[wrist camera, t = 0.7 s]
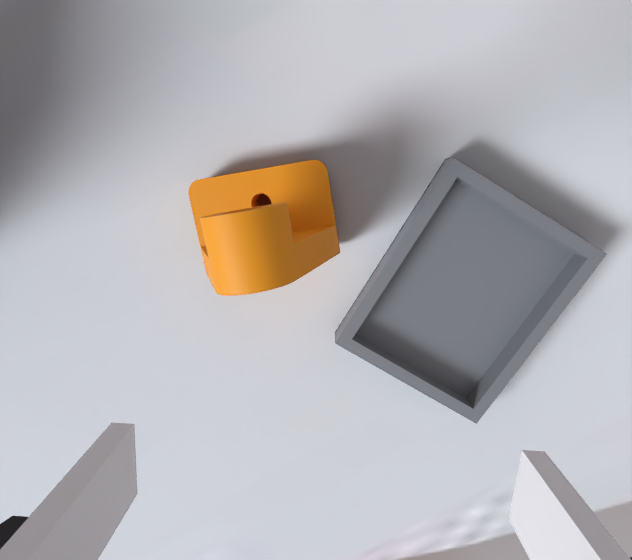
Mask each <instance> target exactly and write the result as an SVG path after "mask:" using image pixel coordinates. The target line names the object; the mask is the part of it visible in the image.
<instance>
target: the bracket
mask: <svg viewBox="0 0 632 560" xmlns="http://www.w3.org/2000/svg"><path fill="white" fill-rule="evenodd" d="M262 193H263V194H266V195H267V196H268V197H269V198H270V200H271V204H270V205H263V206H258V205H257V199H258V197H259V195H260V194H262ZM189 198H190V202H191V207H192V211H193V215H194V220H195V224H196V229H197V233H198V237H199V242H200V246H201V251H202V255H203V259H204V264H205V268H206V273H207V275H208V277H209V279H210V281H211V283H212V285H213V287H214V289H215V291H216V293H217V294H220V295H244V294H252V293H257V292H262V291H267V290H271V289H275V288H278V287H281V286H284V285H287V284H289V283H292V282H294V281H296V280H297V279H299V278H300V277H302V276H304V275H305V274H307V273H308V272H310V271H312V270H313V269H315V268H316V267H318V266H320V265H321V264H323V263H324V262H326V261H328V260H329V259H331V258H332V257H334V256H336V255H337V254H339V253H340V248H339V241H338V235H337V228H336V222H335V215H334V209H333V203H332V196H331V190H330V183H329V177H328V171H327V168H326V166H325V165H324V164H323V163H322V162H321V161H318V160H308V161H303V162H297V163H291V164H286V165H280V166H274V167H268V168H263V169H257V170H251V171H245V172H240V173H234V174H228V175H223V176H217V177H211V178H205V179H200V180H196V181H194V182H193V183H192V184H191V185H190V188H189Z"/></svg>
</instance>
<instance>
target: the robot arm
mask: <svg viewBox="0 0 632 560" xmlns="http://www.w3.org/2000/svg"><path fill="white" fill-rule="evenodd" d="M136 495H137V475H136V452H135V430H134V424H124V423H111V424H110V425H109V426H108V428H107V429H106V430H105V431H104V432H103V433H102V434H101V436H100V437H99V438H98V439H97V440H96V441H95V442H94V443H93V445H92V446H91V447H90V448H89V449H88V450H87V451H86V453H85V454H84V455H83V456H82V457H81V458H80V459H79V461H78V462H77V463H76V464H75V465H74V466H73V467H72V469H71V470H70V471H69V472H68V473H67V474H66V475H65V476H64V478H63V479H62V480H61V481H60V482H59V483H58V484H57V486H56V487H55V488H54V489H53V490H52V491H51V492H50V494H49V495H48V496H47V497H46V498H45V499H44V500H43V502H42V503H41V504H40V505H39V506H38V507H37V508H36V509H35V511H34V512H33V513H32V514H31V515H30V516H29V517H22V516H12V517H10V518H9V519H7V520H6V521H4V522H3V523H1V524H0V560H98V558H99V557H100V555H101V553H102V552H103V550H104V548H105V547H106V545H107V543H108V542H109V540H110V538H111V537H112V535H113V533H114V532H115V530H116V528H117V527H118V525H119V523H120V522H121V520H122V518H123V517H124V515H125V513H126V512H127V510H128V508H129V507H130V505H131V503H132V502H133V500H134V498H135V497H136ZM509 521H510V523H511V525H512V527H513V528H514V530H515V532H516V534H517V535H518V538H519V540H520V541H521V543H522V545H523V547H524V549H525V550H526V553H527V555H528V556H529V558H530V560H632V557H629V556H628V555H627V554H626V553H625V551H624V550H623V549H622V548H621V546H620V545H619V544H618V543H617V541H616V540H615V539H614V538H613V536H612V535H611V534H610V533H609V532H608V530H607V529H606V528H605V527H604V525H603V524H602V523H601V521H600V520H599V519H598V518H597V516H596V515H595V514H594V513H593V511H592V510H591V509H590V508H589V506H588V505H587V504H586V503H585V501H584V500H583V499H582V498H581V496H580V495H579V494H578V493H577V491H576V490H575V489H574V488H573V486H572V485H571V484H570V483H569V481H568V480H567V479H566V478H565V476H564V475H563V474H562V473H561V471H560V470H559V469H558V468H557V466H556V465H555V464H554V463H553V461H552V460H551V459H550V458H549V456H548V455H547V454H546V453H545V452H542V451H527V450H522V453H521V458H520V463H519V468H518V473H517V478H516V483H515V488H514V493H513V499H512V504H511V509H510V514H509Z"/></svg>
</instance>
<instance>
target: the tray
mask: <svg viewBox="0 0 632 560" xmlns="http://www.w3.org/2000/svg"><path fill="white" fill-rule="evenodd" d="M605 256H606V253H605V252H603V251H602V250H600V249H598V248H597V247H595V246H594V245H592V244H590V243H589V242H587V241H586V240H584V239H582V238H581V237H579V236H578V235H576V234H574V233H573V232H571V231H570V230H568V229H567V228H565V227H563V226H562V225H560V224H559V223H557V222H555V221H554V220H552V219H551V218H549V217H547V216H546V215H544V214H543V213H541V212H539V211H538V210H536V209H535V208H533V207H532V206H530V205H528V204H527V203H525V202H524V201H522V200H520V199H519V198H517V197H516V196H514V195H512V194H511V193H509V192H508V191H506V190H504V189H503V188H501V187H500V186H498V185H496V184H495V183H493V182H492V181H490V180H489V179H487V178H485V177H484V176H482V175H481V174H479V173H477V172H476V171H474V170H473V169H471V168H469V167H468V166H466V165H465V164H463V163H461V162H460V161H458V160H457V159H455V158H450V159H445V161H444V162H443V164H442V165H441V167H440V168H439V170H438V172H437V173H436V175H435V176H434V178H433V179H432V181H431V183H430V184H429V186H428V187H427V189H426V190H425V192H424V194H423V195H422V197H421V198H420V200H419V201H418V203H417V205H416V206H415V208H414V209H413V211H412V212H411V214H410V216H409V217H408V219H407V220H406V222H405V223H404V225H403V227H402V228H401V230H400V231H399V233H398V234H397V236H396V238H395V239H394V241H393V242H392V244H391V245H390V247H389V249H388V250H387V252H386V253H385V255H384V256H383V258H382V260H381V261H380V263H379V264H378V266H377V267H376V269H375V271H374V272H373V274H372V275H371V277H370V278H369V280H368V281H367V283H366V285H365V286H364V288H363V289H362V291H361V292H360V294H359V296H358V297H357V299H356V300H355V302H354V303H353V305H352V307H351V308H350V310H349V311H348V313H347V314H346V316H345V318H344V319H343V321H342V322H341V324H340V325H339V327H338V329H337V330H336V332H335V343H336V344H337V345H339V346H341V347H343V348H344V349H346V350H348V351H350V352H351V353H353V354H355V355H357V356H358V357H360V358H362V359H364V360H365V361H367V362H369V363H371V364H373V365H374V366H376V367H378V368H380V369H381V370H383V371H385V372H387V373H388V374H390V375H392V376H394V377H395V378H397V379H399V380H401V381H402V382H404V383H406V384H408V385H409V386H411V387H413V388H415V389H416V390H418V391H420V392H422V393H423V394H425V395H427V396H429V397H430V398H432V399H434V400H436V401H438V402H439V403H441V404H443V405H445V406H446V407H448V408H450V409H452V410H453V411H455V412H457V413H459V414H460V415H462V416H464V417H466V418H467V419H469V420H471V421H473V422H474V423H476V424H477V422H478V421H479V420H480V418H481V417H482V416H483V414H484V413H485V412H486V411H487V409H488V408H489V407H490V405H491V404H492V403H493V401H494V400H495V399H496V398H497V396H498V395H499V394H500V392H501V391H502V390H503V388H504V387H505V386H506V384H507V383H508V382H509V381H510V379H511V378H512V377H513V375H514V374H515V373H516V371H517V370H518V369H519V368H520V366H521V365H522V364H523V362H524V361H525V360H526V358H527V357H528V356H529V355H530V353H531V352H532V351H533V349H534V348H535V347H536V345H537V344H538V343H539V341H540V340H541V339H542V338H543V336H544V335H545V334H546V332H547V331H548V330H549V328H550V327H551V326H552V325H553V323H554V322H555V321H556V319H557V318H558V317H559V315H560V314H561V313H562V312H563V310H564V309H565V308H566V306H567V305H568V304H569V302H570V301H571V300H572V299H573V297H574V296H575V295H576V293H577V292H578V291H579V289H580V288H581V287H582V285H583V284H584V283H585V282H586V280H587V279H588V278H589V276H590V275H591V274H592V272H593V271H594V270H595V269H596V267H597V266H598V265H599V263H600V262H601V261H602V259H603V258H604V257H605Z"/></svg>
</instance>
